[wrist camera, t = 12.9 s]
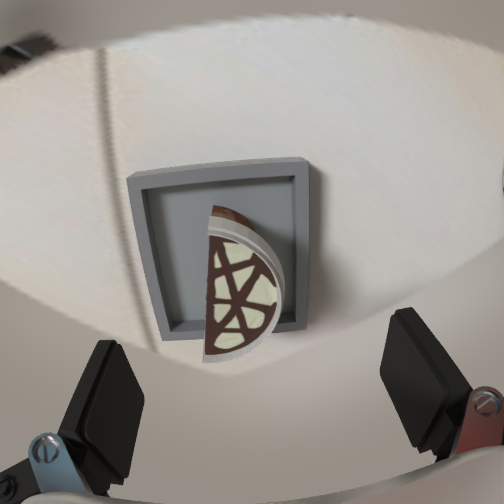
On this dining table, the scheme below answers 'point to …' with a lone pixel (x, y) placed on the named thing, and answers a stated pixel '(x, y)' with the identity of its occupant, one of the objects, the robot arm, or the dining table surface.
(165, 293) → the tray
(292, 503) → the robot arm
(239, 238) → the food container
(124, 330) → the dining table surface
